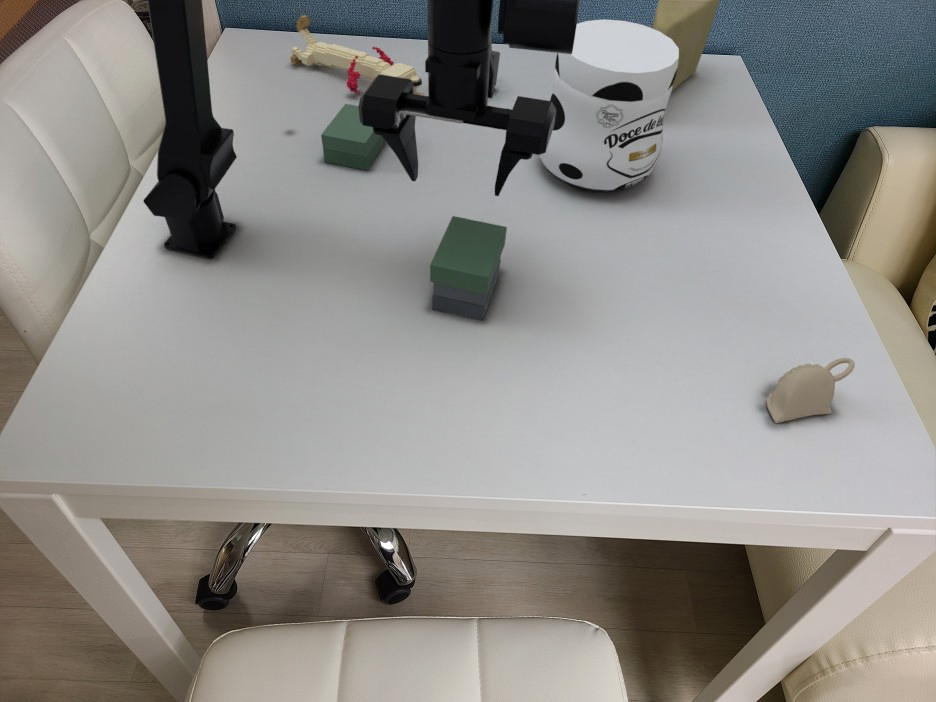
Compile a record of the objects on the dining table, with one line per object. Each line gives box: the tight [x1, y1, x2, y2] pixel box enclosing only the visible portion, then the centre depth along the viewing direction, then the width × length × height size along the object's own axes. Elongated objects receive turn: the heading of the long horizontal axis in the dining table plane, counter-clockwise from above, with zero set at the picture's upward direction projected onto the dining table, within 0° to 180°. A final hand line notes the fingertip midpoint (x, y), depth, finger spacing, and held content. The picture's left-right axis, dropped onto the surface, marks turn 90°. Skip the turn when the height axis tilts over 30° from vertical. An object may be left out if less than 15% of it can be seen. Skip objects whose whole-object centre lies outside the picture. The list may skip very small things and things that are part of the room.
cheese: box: [651, 0, 720, 93], centre depth 109 cm, size 22×10×15 cm, turn 154°
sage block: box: [429, 215, 508, 294], centre depth 76 cm, size 9×6×3 cm
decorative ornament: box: [766, 357, 856, 424], centre depth 69 cm, size 4×8×5 cm, turn 102°
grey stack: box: [431, 255, 502, 321], centre depth 78 cm, size 8×6×4 cm
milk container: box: [539, 19, 679, 193], centre depth 92 cm, size 17×17×18 cm
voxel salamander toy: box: [289, 14, 424, 95], centre depth 109 cm, size 10×9×25 cm
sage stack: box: [320, 103, 387, 171], centre depth 97 cm, size 9×6×4 cm
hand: (455, 186), depth 72 cm, fingers open, 9 cm apart
